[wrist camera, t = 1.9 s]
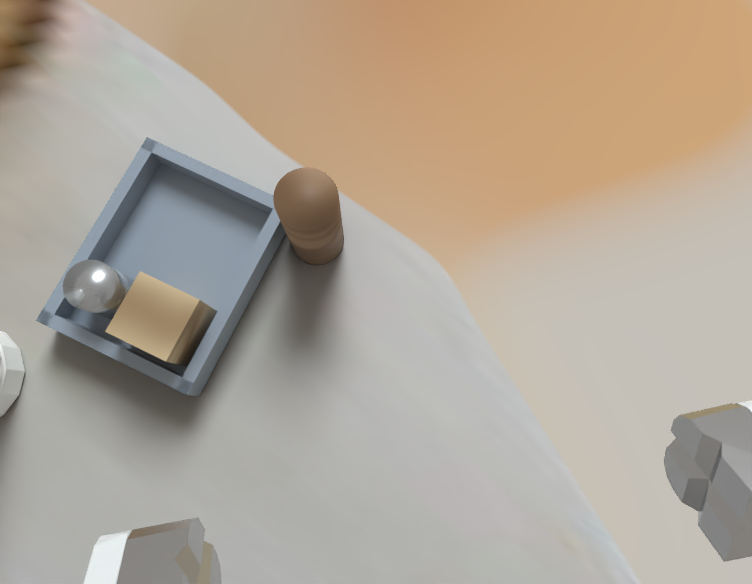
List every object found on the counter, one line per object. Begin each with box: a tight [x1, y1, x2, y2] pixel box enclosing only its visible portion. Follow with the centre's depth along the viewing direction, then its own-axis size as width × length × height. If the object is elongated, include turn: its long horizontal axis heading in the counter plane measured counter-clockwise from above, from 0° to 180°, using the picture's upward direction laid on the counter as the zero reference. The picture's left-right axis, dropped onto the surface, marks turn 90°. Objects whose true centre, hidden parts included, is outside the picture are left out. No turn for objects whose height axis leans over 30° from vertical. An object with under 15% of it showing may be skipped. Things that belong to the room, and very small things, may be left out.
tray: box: [36, 137, 286, 396], centre depth 37 cm, size 14×11×3 cm
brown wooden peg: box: [273, 168, 344, 265], centre depth 35 cm, size 4×4×8 cm
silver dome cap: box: [63, 260, 134, 319], centre depth 35 cm, size 3×3×4 cm
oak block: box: [105, 271, 217, 366], centre depth 35 cm, size 4×4×4 cm
